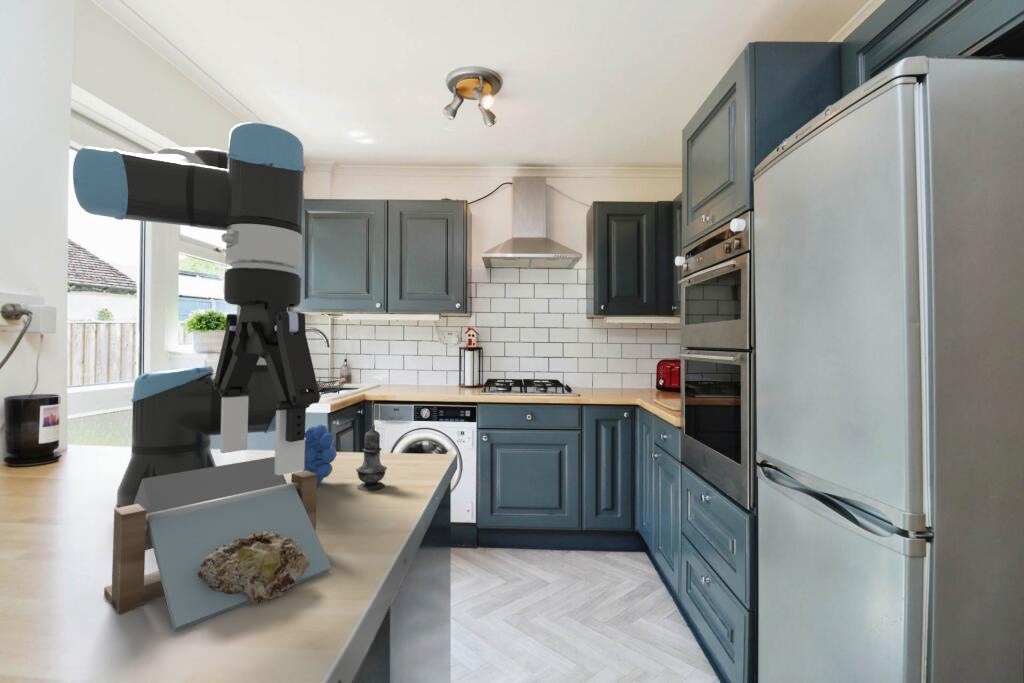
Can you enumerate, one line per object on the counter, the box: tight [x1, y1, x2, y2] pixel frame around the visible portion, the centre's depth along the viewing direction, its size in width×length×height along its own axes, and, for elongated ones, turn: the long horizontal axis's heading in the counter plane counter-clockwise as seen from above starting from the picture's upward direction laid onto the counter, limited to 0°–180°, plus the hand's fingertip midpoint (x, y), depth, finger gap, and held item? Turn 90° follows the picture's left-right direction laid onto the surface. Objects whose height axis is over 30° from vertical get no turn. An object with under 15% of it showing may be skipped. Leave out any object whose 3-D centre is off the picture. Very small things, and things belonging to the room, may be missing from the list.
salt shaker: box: [355, 425, 388, 492], centre depth 93 cm, size 6×6×12 cm
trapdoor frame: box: [103, 470, 318, 615], centre depth 58 cm, size 6×21×10 cm, turn 142°
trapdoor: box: [133, 456, 332, 632], centre depth 57 cm, size 18×16×8 cm
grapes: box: [302, 424, 338, 485], centre depth 95 cm, size 12×7×12 cm, turn 53°
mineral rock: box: [198, 530, 310, 604], centre depth 52 cm, size 11×4×8 cm
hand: (259, 461), depth 52 cm, fingers open, 13 cm apart
